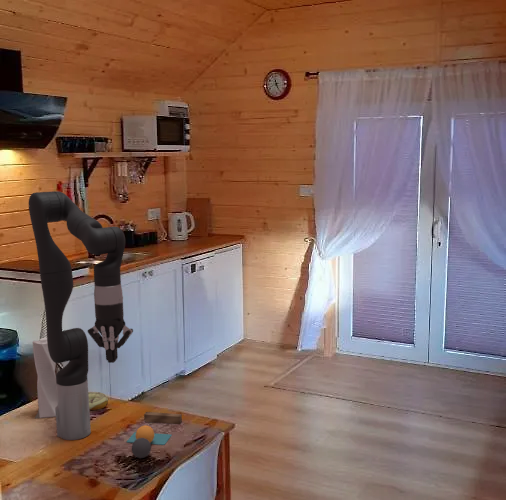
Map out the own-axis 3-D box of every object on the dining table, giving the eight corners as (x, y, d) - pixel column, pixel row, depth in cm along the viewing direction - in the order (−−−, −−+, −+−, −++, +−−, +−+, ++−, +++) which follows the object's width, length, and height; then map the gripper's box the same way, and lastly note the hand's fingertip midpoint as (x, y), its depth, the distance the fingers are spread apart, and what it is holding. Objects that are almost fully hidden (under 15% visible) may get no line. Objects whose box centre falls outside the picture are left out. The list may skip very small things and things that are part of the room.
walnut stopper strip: (144, 421, 206) (144, 414, 205) (146, 419, 208) (146, 411, 207) (179, 424, 203) (179, 416, 203) (181, 421, 205) (181, 414, 205)
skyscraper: (64, 409, 218) (58, 329, 214) (60, 418, 210) (54, 336, 206) (38, 411, 217) (32, 331, 213) (34, 420, 209) (27, 338, 205)
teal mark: (126, 442, 191) (126, 441, 191) (134, 432, 198) (134, 431, 198) (164, 445, 189) (164, 444, 189) (171, 435, 195) (171, 434, 195)
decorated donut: (90, 414, 213) (90, 404, 212) (69, 408, 219) (68, 397, 218) (114, 404, 221) (113, 394, 221) (93, 398, 227) (92, 388, 227)
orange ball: (131, 435, 186) (137, 420, 191) (135, 447, 189) (141, 433, 194) (149, 436, 185) (154, 422, 190) (152, 449, 188) (158, 434, 193)
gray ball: (141, 430, 184) (139, 445, 186) (128, 440, 179) (126, 455, 181) (156, 440, 181) (153, 455, 184) (143, 450, 177) (140, 465, 179)
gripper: (79, 303, 171) (83, 365, 173) (126, 304, 168) (129, 367, 171) (92, 296, 178) (95, 356, 181) (136, 298, 175) (139, 358, 178)
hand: (112, 361), depth 176 cm, fingers closed
